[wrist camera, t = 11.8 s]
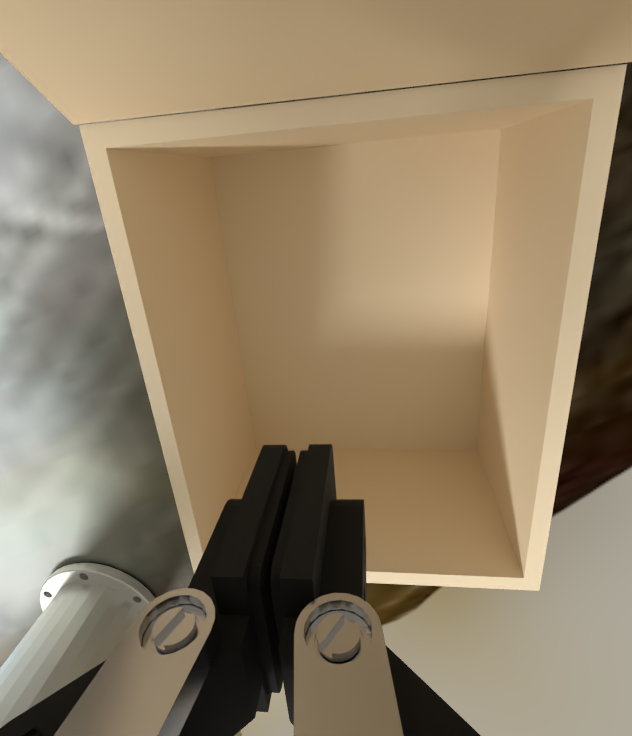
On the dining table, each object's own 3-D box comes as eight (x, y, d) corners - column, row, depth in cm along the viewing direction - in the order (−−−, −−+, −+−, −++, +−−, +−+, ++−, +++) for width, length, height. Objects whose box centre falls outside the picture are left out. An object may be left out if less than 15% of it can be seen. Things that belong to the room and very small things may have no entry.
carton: (485, 451, 33) (539, 590, 22) (250, 450, 35) (194, 574, 25) (514, 112, 24) (627, 64, 13) (199, 144, 27) (79, 125, 16)
